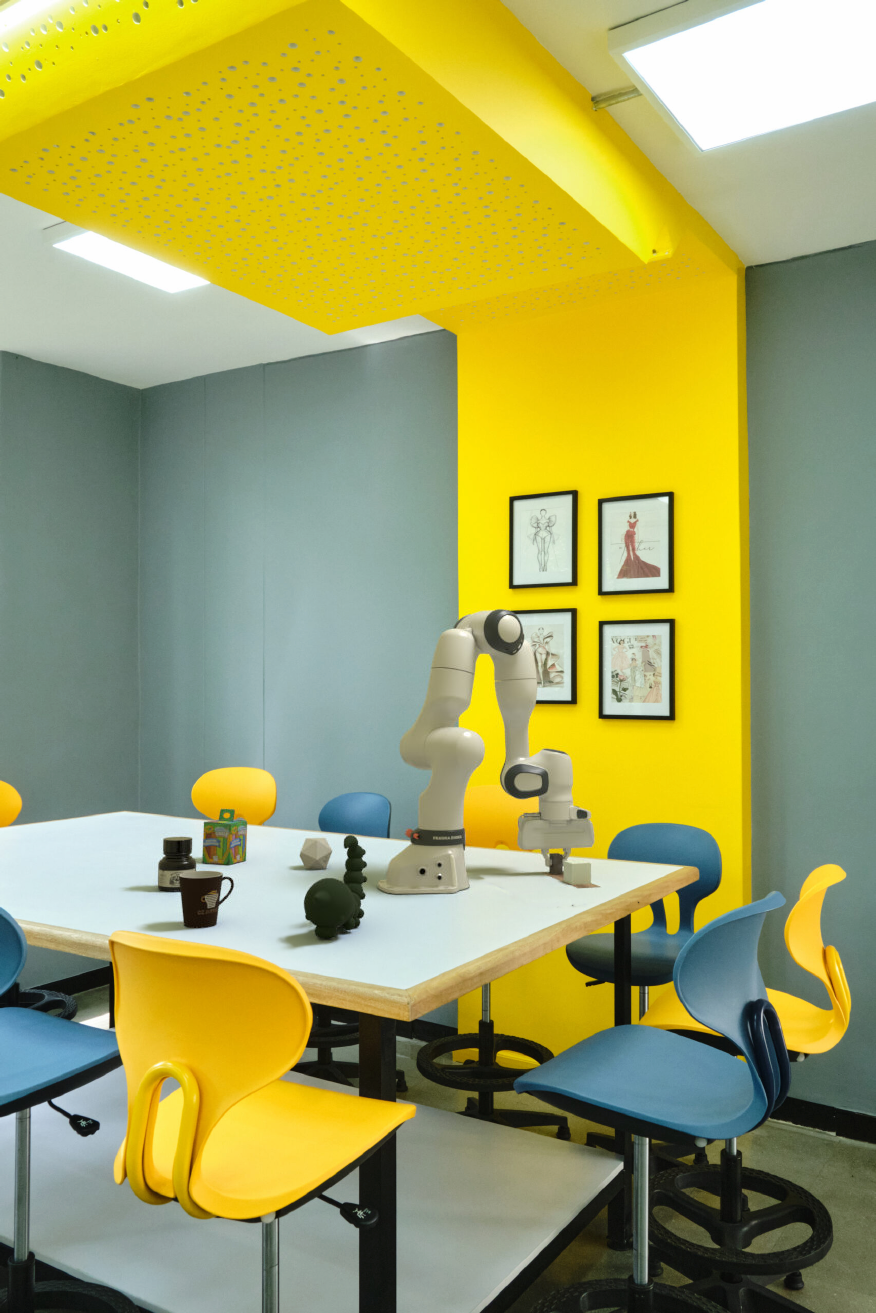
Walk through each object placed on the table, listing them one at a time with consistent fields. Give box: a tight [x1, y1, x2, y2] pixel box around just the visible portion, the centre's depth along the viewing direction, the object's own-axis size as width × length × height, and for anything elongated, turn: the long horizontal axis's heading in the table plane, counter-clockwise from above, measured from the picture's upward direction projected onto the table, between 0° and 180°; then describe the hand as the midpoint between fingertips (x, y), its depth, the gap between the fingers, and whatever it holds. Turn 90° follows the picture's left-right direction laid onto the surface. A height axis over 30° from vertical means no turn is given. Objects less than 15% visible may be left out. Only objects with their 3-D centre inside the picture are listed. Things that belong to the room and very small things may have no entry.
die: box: [299, 837, 333, 870], centre depth 264 cm, size 8×9×10 cm
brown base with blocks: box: [542, 852, 601, 889], centre depth 242 cm, size 6×22×6 cm, turn 16°
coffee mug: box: [179, 870, 235, 929], centre depth 196 cm, size 12×9×10 cm
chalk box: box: [201, 808, 248, 866], centre depth 274 cm, size 9×9×15 cm
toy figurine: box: [303, 834, 368, 940], centre depth 190 cm, size 9×19×25 cm
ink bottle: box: [157, 836, 197, 892], centre depth 234 cm, size 10×9×12 cm
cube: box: [563, 859, 592, 886], centre depth 238 cm, size 5×5×5 cm
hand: (556, 865), depth 250 cm, fingers closed on brown base with blocks, 2 cm apart
